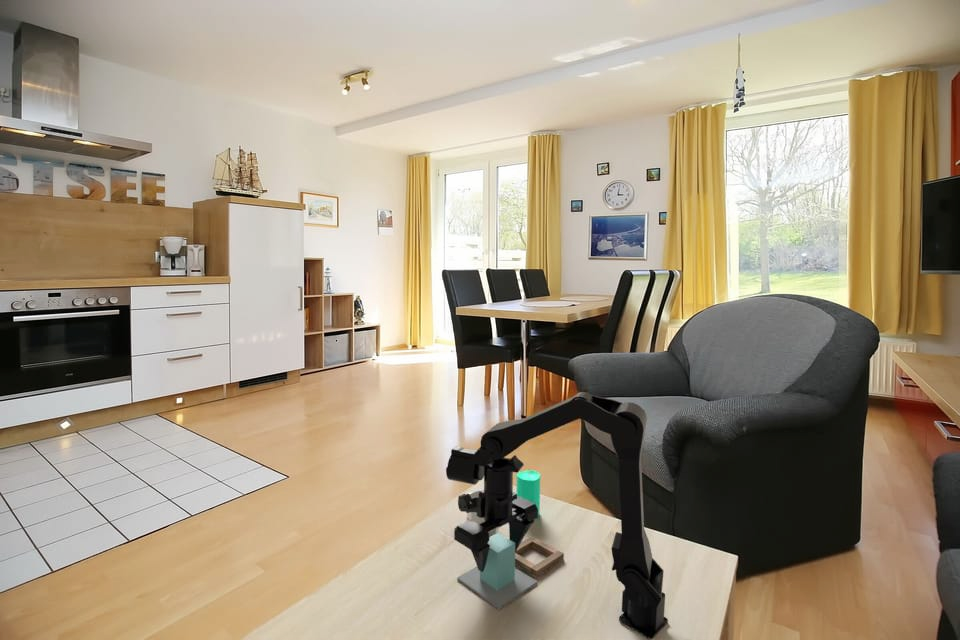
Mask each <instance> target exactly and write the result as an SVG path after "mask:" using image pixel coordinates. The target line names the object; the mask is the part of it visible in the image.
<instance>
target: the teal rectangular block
mask: <svg viewBox="0 0 960 640" xmlns="http://www.w3.org/2000/svg"><path fill="white" fill-rule="evenodd" d="M487 544H489V545H490V548H489V552H488V556H487V561H486V565H485V568H484V571H483V572H481V571H480V579H481V580H482V581H484V582H485V583H486V584H488V585H489V586H491V587H492V588H494V589H495V590H497V591H498V590H499V589H501V588H503V587H504V586H506V585H507V584H509V583H511V582H512V581H514V580H515V568H516V565H515V543H514V542H513V541H511V540H510V538H507V537H505V536H504V535H502V534H500V533H498V532H497V533H495V534H493V535H491V536H489V541H488V543H487Z"/></svg>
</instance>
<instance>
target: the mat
mask: <svg viewBox="0 0 960 640" xmlns="http://www.w3.org/2000/svg"><path fill="white" fill-rule="evenodd" d="M457 581H458V582H460V583H461V584H462V585H464V586H465V587H466V588H468V589H469V590H471V591H472V592H474V593H475V594H477V595H478V596H479V597H481V598H482V599H483V600H485V601H486V602H488V603H489V604H490V605H492V606H494V607H495V609H498V610H501V609H503V608H504V607H505V606H507V605H508V604H510V603H511V602H513V601H514V600H516V599H517V598H519V597H520V596H521V595H523V594H524V593H526V592H527V591H529V590H530V589H532V588H533V587H535V586H537V585H538V581H537V580H536V579H534V578H532V577H530V576H528V575H527V574H525V573H524V572H522V571H520V570H519V569H517V568H516V567H515V580H514V581H512V582H511V583H509V584H507V585H506V586H504V587H503V588H501V589H499V590H498V591H497V590H495V589H494V588H492V587H491V586H489V585H488V584H486V583H485V582H484V581H482V580H481V579H480V571H479V570H478V567H477V566H475V567H473V568H471V569H470V570H468V571H466V572H464V573H463V574H461V575H459V576H458V577H457Z"/></svg>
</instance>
